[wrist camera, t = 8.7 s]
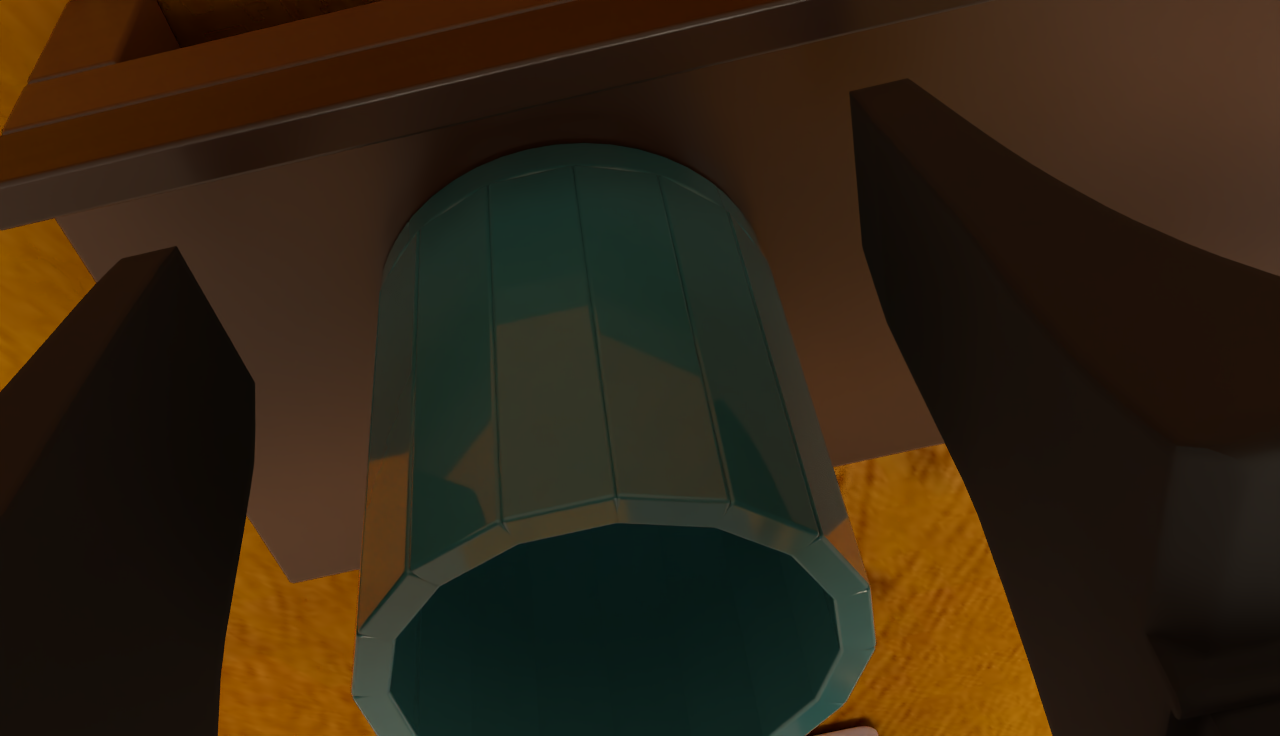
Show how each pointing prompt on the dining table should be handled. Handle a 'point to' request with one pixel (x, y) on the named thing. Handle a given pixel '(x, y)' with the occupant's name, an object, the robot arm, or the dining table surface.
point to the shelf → (610, 114)
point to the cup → (596, 469)
